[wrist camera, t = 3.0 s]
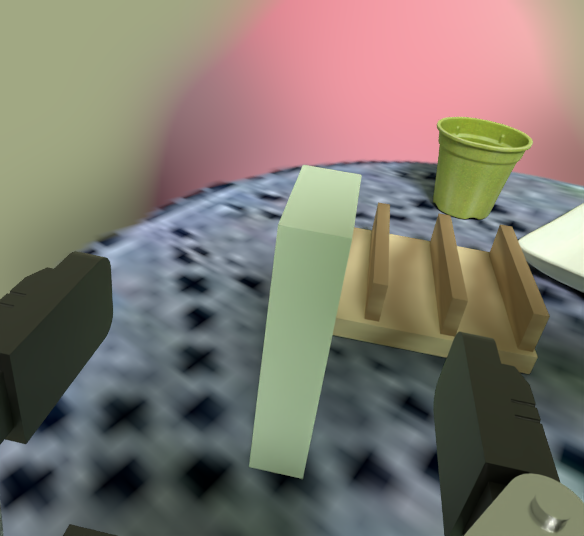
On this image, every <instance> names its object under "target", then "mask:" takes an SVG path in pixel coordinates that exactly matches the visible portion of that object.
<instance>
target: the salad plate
mask: <svg viewBox="0 0 584 536" xmlns="http://www.w3.org/2000/svg"><path fill="white" fill-rule="evenodd" d="M518 242H519V244H520V247H521V249H522V252H523V254H524V256H525V259H526V261H527V262H529V263H530V264H531V265H532V266H534V267H535V268H536V269H538V270H539V271H541V272H543V273H544V274H546V275H548V276H550V277H552V278H553V279H555V280H557V281H559V282H561V283H564V284H566V285H568V286H570V287H572V288H574V289H576V290H578V291H580V292H582V293H584V203H583V204H581V205H580V206H578V207H576V208H574V209H573V210H571V211H569V212H568V213H566V214H564V215H563V216H561V217H559V218H557V219H555V220H554V221H552V222H550V223H548V224H546V225H544V226H543V227H541V228H539V229H537V230H535V231H533V232H531V233H529V234H528V235H526V236H524V237H522V238H521V239H519V240H518Z"/></svg>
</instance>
